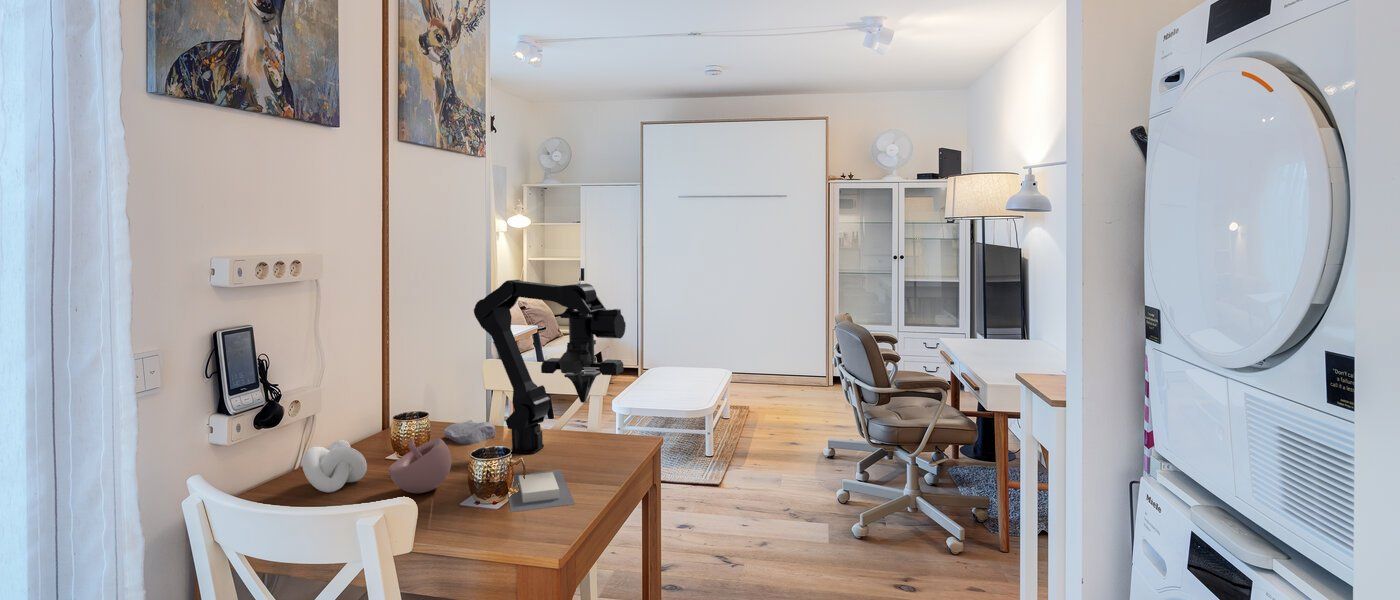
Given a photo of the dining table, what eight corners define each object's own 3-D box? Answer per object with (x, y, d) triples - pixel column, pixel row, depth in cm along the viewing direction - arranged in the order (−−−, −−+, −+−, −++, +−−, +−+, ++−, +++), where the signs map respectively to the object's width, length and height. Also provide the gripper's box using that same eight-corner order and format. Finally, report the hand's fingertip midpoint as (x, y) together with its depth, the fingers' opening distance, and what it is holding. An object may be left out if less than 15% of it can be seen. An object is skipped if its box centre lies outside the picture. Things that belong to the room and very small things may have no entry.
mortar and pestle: (391, 486, 147) (389, 432, 146) (452, 478, 151) (449, 427, 150) (388, 505, 136) (385, 448, 135) (453, 497, 140) (450, 441, 139)
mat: (504, 477, 151) (504, 475, 151) (560, 471, 155) (560, 469, 155) (510, 514, 131) (510, 512, 131) (575, 506, 134) (575, 503, 134)
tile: (518, 475, 145) (522, 493, 135) (552, 471, 147) (559, 488, 137) (518, 485, 145) (522, 503, 135) (552, 481, 148) (559, 498, 137)
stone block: (471, 452, 177) (499, 435, 185) (467, 435, 176) (496, 419, 184) (439, 448, 183) (468, 431, 191) (435, 431, 182) (464, 415, 190)
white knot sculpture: (296, 485, 149) (294, 443, 148) (357, 472, 156) (355, 433, 156) (307, 499, 140) (305, 455, 139) (371, 485, 148) (369, 444, 147)
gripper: (529, 341, 158) (531, 408, 160) (607, 342, 154) (608, 411, 156) (550, 334, 169) (552, 398, 170) (623, 336, 165) (624, 400, 166)
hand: (583, 402), depth 165 cm, fingers closed
